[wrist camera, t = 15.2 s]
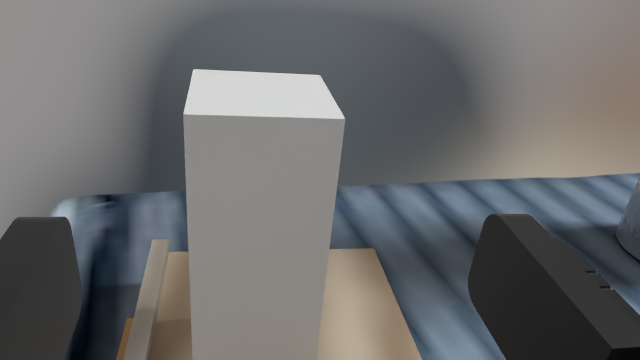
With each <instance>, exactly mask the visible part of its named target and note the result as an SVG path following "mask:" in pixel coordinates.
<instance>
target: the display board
mask: <svg viewBox="0 0 640 360" xmlns="http://www.w3.org/2000/svg"><path fill="white" fill-rule="evenodd" d="M116 360H193V359H192V332H191V306H190V279H189V252H169V239H160V240H152V244H151V248H150V252H149V256H148V260H147V264H146V268H145V272H144V277H143V281H142V285H141V289H140V293H139V297H138V301H137V305H136V309H135V313H134V318H127V320H126V324H125V328H124V331H123V335H122V339H121V343H120V347H119V351H118V355H117V358H116ZM316 360H422V359H421V356H420V354H419V352H418V349H417V347H416V345H415V342H414V340H413V338H412V335H411V333H410V331H409V328H408V326H407V324H406V322H405V319H404V317H403V315H402V312H401V310H400V308H399V305H398V303H397V301H396V298H395V296H394V294H393V291H392V289H391V287H390V284H389V282H388V280H387V277H386V275H385V273H384V270H383V268H382V266H381V263H380V261H379V259H378V257H377V254H376V252H375V250H374V248H365V249H329V256H328V265H327V273H326V281H325V289H324V297H323V306H322V314H321V322H320V330H319V338H318V346H317V355H316Z"/></svg>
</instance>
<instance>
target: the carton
mask: <svg viewBox="0 0 640 360" xmlns="http://www.w3.org/2000/svg"><path fill="white" fill-rule="evenodd" d="M183 116H184V143H185V170H186V198H187V225H188V252H189V279H190V306H191V332H192V359H193V360H316V355H317V346H318V338H319V330H320V322H321V314H322V306H323V297H324V289H325V281H326V273H327V265H328V256H329V248H330V240H331V232H332V224H333V216H334V207H335V199H336V191H337V183H338V174H339V165H340V158H341V150H342V141H343V133H344V125H345V118H344V116H343V114H342V113H341V111H340V109H339V107H338V106H337V104H336V102H335V101H334V99H333V97H332V95H331V94H330V92H329V90H328V88H327V87H326V85H325V83H324V82H323V80H322V78H321V77H320V75H305V74H284V73H262V72H240V71H219V70H195V69H194V70H193V74H192V78H191V83H190V87H189V92H188V96H187V101H186V105H185V110H184V114H183Z"/></svg>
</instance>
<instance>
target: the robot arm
mask: <svg viewBox="0 0 640 360" xmlns="http://www.w3.org/2000/svg"><path fill="white" fill-rule="evenodd" d="M616 237H617V240H618V241H619V243H620V244H621V245H622V246H623V247H624V248H625V249H626V250H627V251H628V252H629V253H630V254H632V255H633V256H634V257H636V258H637V259H639V260H640V178H639V180H638V182H637V184H636V187H635V189H634V191H633V193H632V196H631V198H630V200H629V202H628V205H627V207H626V209H625V212H624V214H623V216H622V218H621V221H620V223H619V225H618V228H617V230H616ZM468 288H469V294H470V298H471V301H472V303H473V305H474V307H475V308H476V310H477V312H478V313H479V315H480V317H481V318H482V320H483V322H484V323H485V325H486V327H487V328H488V330H489V332H490V333H491V335H492V337H493V338H494V340H495V342H496V343H497V345H498V347H499V348H500V350H501V352H502V353H503V355H504V357H505V358H506V360H640V315H639V314H638V313H637V312H636V311H635V310H634V309H633V308H632V307H631V306H630V305H629V304H628V303H627V302H626V301H625V300H624V299H623V298H622V297H621V296H620V295H619V294H618V293H617V292H616V291H615V290H611V289H610V285H609V284H608V283H607V282H606V281H605V280H604V279H603V278H602V277H601V276H600V275H599V274H597V275H596V274H595V270H594V269H593V268H592V267H591V266H590V265H589V264H588V263H587V262H586V261H585V260H584V259H583V258H582V257H581V256H580V255H579V254H578V253H577V252H575V251H574V250H572V249H571V248H569V247H567V246H566V245H564V244H563V243H561V242H559V241H558V240H556V239H555V238H552V237H551V236H550V235H549V234H548V233H547V232H546V231H545V230H544V229H543V227H542V226H541V225H540V224H539V223H538V222H537V221H536V220H535V219H534V218H533V217H532V216H530V215H528V214H492V215H489V216H488V217H487V218H486V220H485V222H484V224H483V228H482V231H481V234H480V238H479V241H478V245H477V248H476V252H475V255H474V258H473V262H472V265H471V269H470V272H469V277H468ZM81 303H82V286H81V280H80V274H79V269H78V263H77V258H76V252H75V247H74V241H73V236H72V230H71V226H70V223H69V221H68V219H67V218H66V217H18V218H16V219H15V220H14V221H13V222H12V224H11V225H10V226H9V228H8V229H7V231H6V232H5V234H4V235H3V236H2V238H1V240H0V360H63V359H64V356H65V353H66V351H67V348H68V346H69V343H70V340H71V338H72V335H73V332H74V330H75V327H76V324H77V322H78V319H79V315H80V310H81Z"/></svg>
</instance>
